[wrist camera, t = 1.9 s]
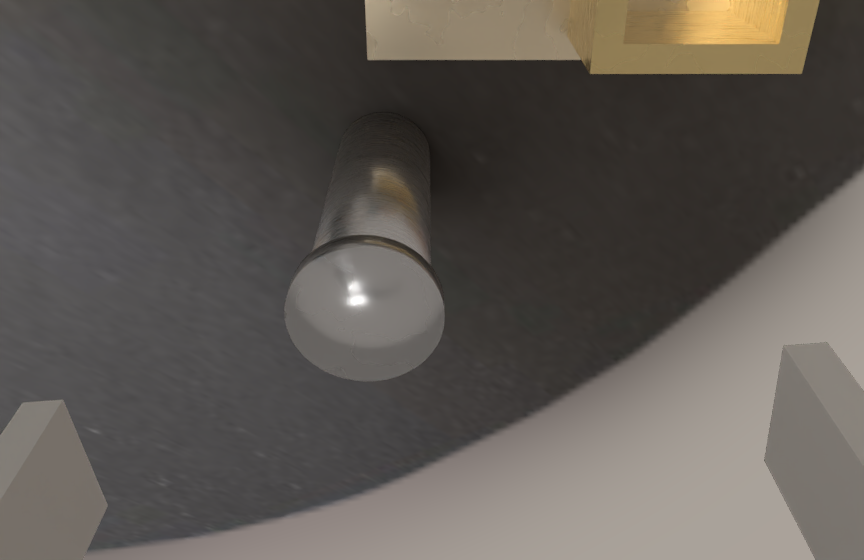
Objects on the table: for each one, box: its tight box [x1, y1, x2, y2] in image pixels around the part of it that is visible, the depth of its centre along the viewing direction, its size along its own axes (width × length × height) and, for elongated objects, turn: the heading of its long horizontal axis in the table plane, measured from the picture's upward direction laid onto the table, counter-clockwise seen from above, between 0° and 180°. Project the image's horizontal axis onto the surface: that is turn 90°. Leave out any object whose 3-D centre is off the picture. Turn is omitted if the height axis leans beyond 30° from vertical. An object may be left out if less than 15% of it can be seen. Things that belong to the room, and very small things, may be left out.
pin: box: [284, 112, 445, 381], centre depth 29 cm, size 5×5×13 cm
